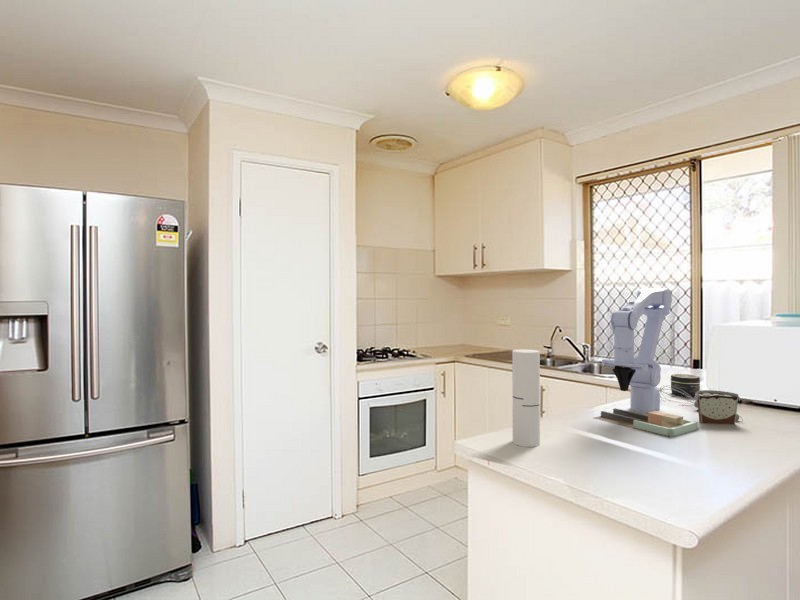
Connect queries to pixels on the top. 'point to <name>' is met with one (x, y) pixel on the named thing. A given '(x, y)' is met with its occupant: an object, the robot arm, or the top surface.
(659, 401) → the robot arm
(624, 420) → the groove board
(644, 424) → the tray
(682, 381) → the jar
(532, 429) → the cylindrical container
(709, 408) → the food container
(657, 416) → the terracotta block
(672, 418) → the birch block
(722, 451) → the top surface
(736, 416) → the kitchen whisk
